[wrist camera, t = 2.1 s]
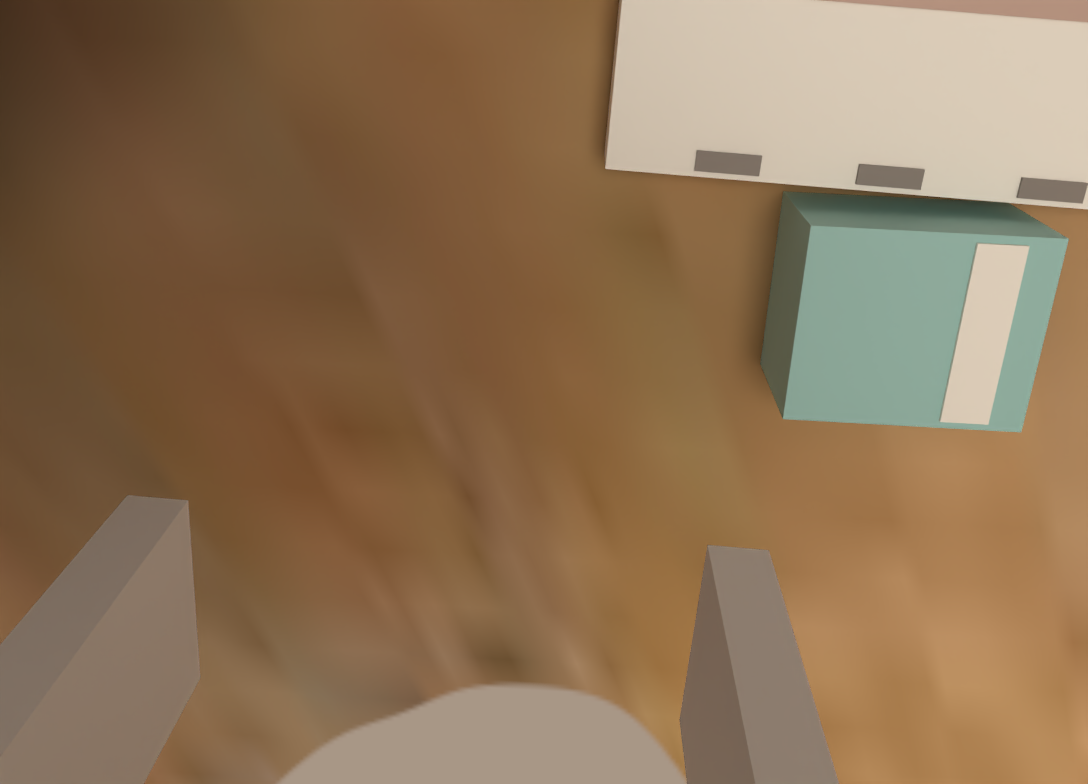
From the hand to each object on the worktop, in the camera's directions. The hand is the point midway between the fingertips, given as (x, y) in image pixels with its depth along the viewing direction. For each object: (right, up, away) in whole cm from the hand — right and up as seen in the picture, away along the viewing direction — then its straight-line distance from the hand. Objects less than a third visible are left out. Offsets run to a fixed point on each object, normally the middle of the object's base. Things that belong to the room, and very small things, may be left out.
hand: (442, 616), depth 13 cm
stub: (+11, +6, +16) cm, 20 cm away
